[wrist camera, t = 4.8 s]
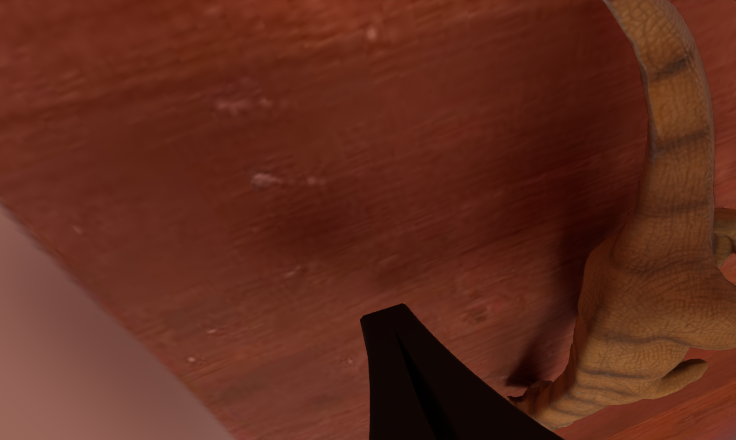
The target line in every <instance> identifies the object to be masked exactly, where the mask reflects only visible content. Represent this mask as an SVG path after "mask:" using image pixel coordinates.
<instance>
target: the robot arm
mask: <svg viewBox="0 0 736 440" xmlns="http://www.w3.org/2000/svg"><path fill="white" fill-rule="evenodd" d="M360 322H361V327H362V331H363V336H364V341H365V345H366V350H367V355H368V364H369V380H370V432H369V440H564V439H563V438H561V437H560V436H558V435H556V434H555V433H553V432H552V431H550V430H549V429H547V428H546V427H544V426H542V425H541V424H540V423H538V422H537V421H535V420H534V419H532V418H531V417H530V416H528V415H527V414H525V413H524V412H523V411H521V410H520V409H518V408H517V407H516V406H514V405H513V404H512V403H510V402H509V401H508V400H506V399H505V398H504V397H502V396H501V395H500V394H498V393H497V392H496V391H495V390H493V389H492V388H491V387H490V386H488V385H487V384H486V383H485V382H483V381H482V380H481V379H480V378H479V377H478V376H476V375H475V374H474V373H473V372H472V371H471V370H469V369H468V368H467V367H466V366H465V365H464V364H463V363H462V362H460V361H459V360H458V359H457V358H456V357H455V356H454V355H453V354H452V353H451V352H450V351H449V350H448V349H447V348H445V347H444V346H443V345H442V344H441V343H440V342H439V341H438V340H437V339H436V338H435V337H434V336H433V335H432V334H431V333H430V332H429V330H428V329H427V328H426V327H425V326H424V325H423V324H422V323H421V322H420V321H419V320H418V319H417V317H416V316H415V315H414V314H413V313H412V312H411V310H410V309H409V308H408V307H407V305H405V304H403V303H402V304H399V305H395V306H392V307H389V308H386V309H383V310H380V311H377V312H373V313H370V314H367V315H364V316H363V317H362V318H361V319H360Z"/></svg>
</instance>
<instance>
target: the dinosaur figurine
mask: <svg viewBox="0 0 736 440" xmlns="http://www.w3.org/2000/svg"><path fill="white" fill-rule="evenodd" d="M602 1H603V2H604V3H605V5H606V6H607V7H608V9H609V10H610V12H611V13H612V15H613V16H614V18H615V19H616V21H617V22H618V24H619V26H620V27H621V29H622V30H623V32H624V33H625V35H626V37H627V38H628V40H629V42H630V44H631V47H632V49H633V52H634V54H635V57H636V59H637V61H638V64H639V70H640V76H641V82H642V86H643V90H644V94H645V100H646V107H647V112H648V127H647V143H646V150H645V157H644V164H643V170H642V174H641V178H640V181H639V185H638V189H637V193H636V196H635V199H634V203H633V206H632V208H631V210H630V212H629V213H628V217H627V220H626V222H625V224H624V226H623V227H622V228H621V229H620V231H619V232H617V233H615V234H612V235H610V236H609V237H607V238H606V239H604V241H603V243H601V244H599V245H598V246H596V247H595V248H594V249H593V250H592V251H591V253H590V254H589V256H588V258H587V260H586V264H585V268H584V278H583V285H582V290H581V293H580V297H579V300H578V313H579V315H578V317H577V320H576V325H575V329H574V335H573V343H572V345H571V349H570V357H569V362H568V365H567V367H566V369H565V371H564V372H563V373H562V374H561V375H560V376H559V377H558V378H557V379H556V380H555V381H554V382H552V381H549V380H547V381H545V380H539V381H536V382H534V383H533V384H532V385H531V386H530V387H529V388H528V389H527V390H526V391H525V393H524V394H523V396H519V397H512V396H507V398H508V400H509V402H510V403H512V404H513V405H514V406H516V407H517V408H518V409H520V410H521V411H523V412H524V413H525V414H527V415H528V416H530V417H531V418H532V419H534V420H535V421H537V422H538V423H540V424H541V425H542V426H544V427H546V428H547V429H549V430H550V431H555V430H557V429H559V428H562V427H565V426H568V425H570V424H572V423H573V422H574V421H575V420H578V419H581V418H584V417H586V416H588V415H590V414H593V413H594V412H596V411H598V410H600V409H603V408H605V407H607V406H609V405H611V404H628V403H632V402H636V401H638V400H640V399H656V398H660V397H663V396H666V395H669V394H671V393H674V392H676V391H678V390H680V389H682V388H683V387H685V386H687V385H688V384H689V383H690V382H693V381H697V380H698V379H700V378H701V377H702V375H703V373H704V372H705V371H706V370H707V368H708V363H707V362H706V361H704V360H701V359H690V360H687V361H684V359H683V358H684V356H685V355H686V353H687V351H688V349H689V348H690V347H694V348H700V349H707V350H726V349H731V348H735V347H736V286H735V285H734V284H733V283H731V282H729V281H728V280H727V279H725V277H724V275H723V274H722V272H721V271H720V270H719V269H718V266H722V265H723V263H724V262H725V261H726V260H727V258H728V257H729V256H730V255H731V254H732V253H735V254H736V210H734V209H729V208H714V195H713V182H714V165H715V151H714V120H713V109H712V100H711V95H710V90H709V85H708V81H707V77H706V73H705V69H704V66H703V62H702V59H701V56H700V53H699V51H698V48H697V46H696V43H695V40H694V38H693V36H692V34H691V32H690V30H689V29H688V27H687V25H686V23H685V21H684V20H683V18H682V17H681V15H680V14H679V12H678V11H677V9H676V8H675V6H674V5H673V4H672V3H671V2H670V1H669V0H602ZM683 361H684V362H683Z"/></svg>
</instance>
